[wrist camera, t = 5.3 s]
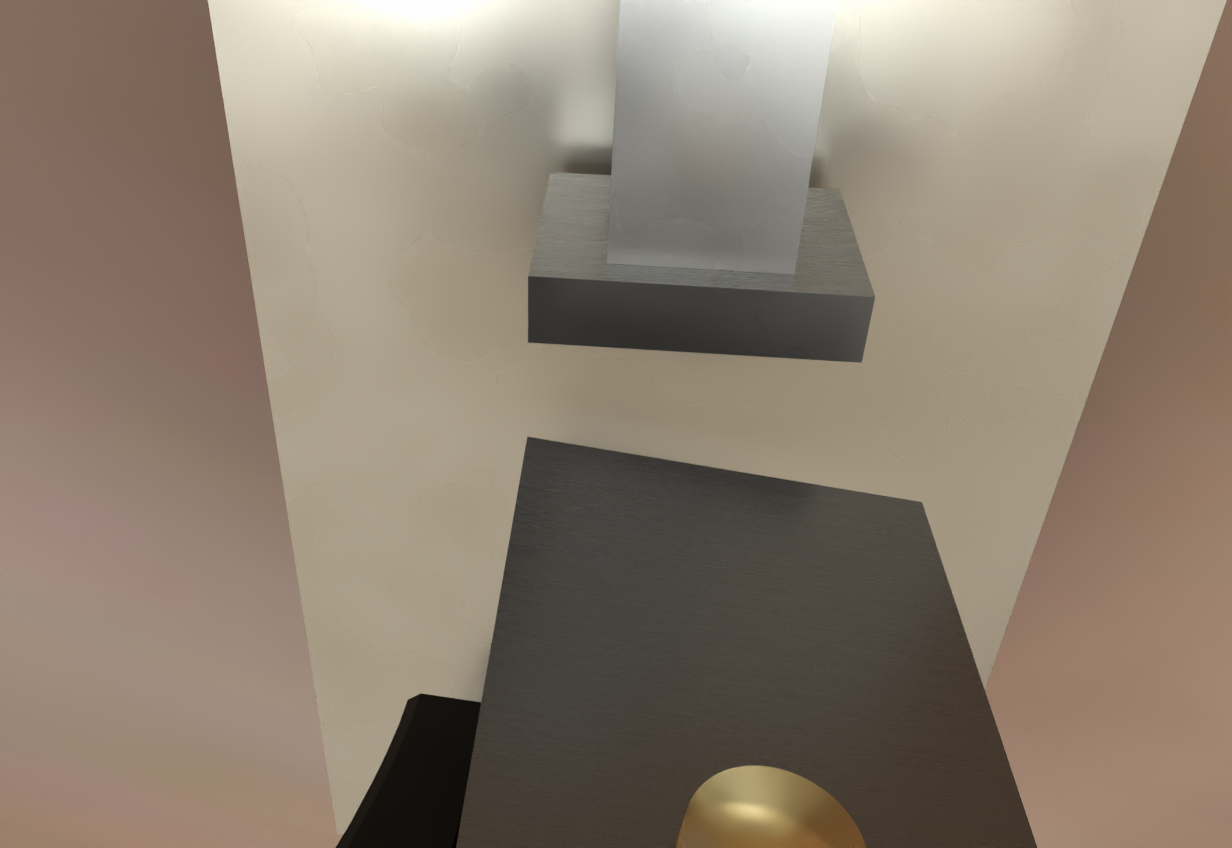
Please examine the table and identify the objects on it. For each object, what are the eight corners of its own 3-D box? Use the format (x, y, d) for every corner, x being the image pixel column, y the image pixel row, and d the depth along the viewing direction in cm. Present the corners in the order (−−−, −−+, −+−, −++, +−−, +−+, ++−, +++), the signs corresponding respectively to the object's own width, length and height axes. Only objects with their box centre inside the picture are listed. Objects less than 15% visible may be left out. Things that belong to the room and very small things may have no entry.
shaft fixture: (353, 772, 24) (291, 998, 20) (171, -597, 11) (-99, -731, 7) (908, 806, 24) (958, 1039, 20) (1337, -527, 11) (1704, -623, 7)
